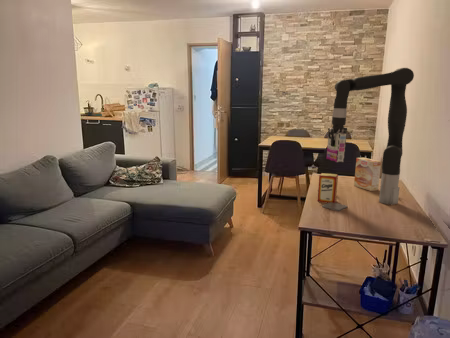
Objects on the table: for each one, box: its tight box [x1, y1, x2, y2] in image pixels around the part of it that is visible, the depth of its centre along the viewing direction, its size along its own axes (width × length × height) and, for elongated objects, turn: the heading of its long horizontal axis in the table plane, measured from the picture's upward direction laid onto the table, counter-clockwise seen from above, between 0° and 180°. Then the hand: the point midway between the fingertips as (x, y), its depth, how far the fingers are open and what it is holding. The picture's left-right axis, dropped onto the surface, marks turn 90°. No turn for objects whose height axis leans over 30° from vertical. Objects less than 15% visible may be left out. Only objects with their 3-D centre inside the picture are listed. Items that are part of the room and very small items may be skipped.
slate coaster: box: [321, 202, 348, 212], centre depth 195 cm, size 10×10×1 cm
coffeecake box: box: [353, 157, 382, 192], centre depth 234 cm, size 15×7×20 cm, turn 25°
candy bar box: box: [325, 133, 348, 163], centre depth 202 cm, size 11×5×16 cm, turn 17°
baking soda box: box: [317, 172, 339, 204], centre depth 204 cm, size 10×6×16 cm
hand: (336, 145), depth 202 cm, fingers closed on candy bar box, 6 cm apart
